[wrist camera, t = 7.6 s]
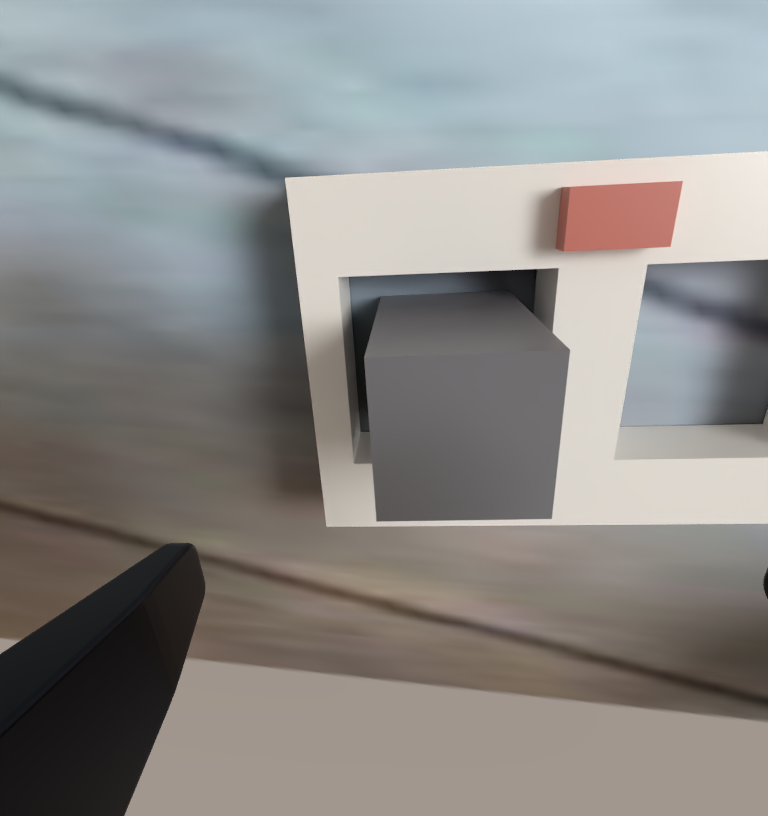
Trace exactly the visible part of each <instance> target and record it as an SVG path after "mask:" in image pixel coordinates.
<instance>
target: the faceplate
mask: <svg viewBox="0 0 768 816" xmlns="http://www.w3.org/2000/svg"><path fill="white" fill-rule="evenodd" d="M285 182H286V191H287V199H288V207H289V216H290V224H291V232H292V241H293V249H294V258H295V266H296V274H297V283H298V291H299V300H300V308H301V316H302V325H303V333H304V341H305V350H306V358H307V367H308V375H309V383H310V392H311V400H312V409H313V417H314V425H315V434H316V442H317V450H318V459H319V467H320V476H321V484H322V492H323V501H324V509H325V518H326V526H327V527H365V526H504V525H644V524H768V409H767V412H766V415H765V418H764V421H763V424H736V425H686V426H636V427H620V421H621V415H622V409H623V403H624V398H625V392H626V386H627V380H628V374H629V369H630V363H631V357H632V351H633V345H634V340H635V334H636V328H637V322H638V316H639V311H640V305H641V299H642V293H643V288H644V282H645V276H646V270H647V264H669V263H694V262H718V261H742V260H766V259H768V151H764V152H746V153H727V154H709V155H691V156H673V157H655V158H637V159H619V160H600V161H582V162H564V163H546V164H528V165H510V166H492V167H473V168H455V169H437V170H419V171H401V172H383V173H365V174H346V175H328V176H310V177H292V178H285ZM524 269H537V275H536V287H535V299H534V312H533V314H534V315H535V316H536V317H537V318H538V319H539V320H540V321H541V322H542V323H543V324H544V325H545V326H546V327H547V328H548V329H549V330H550V331H551V332H552V333H553V334H554V335H555V336H556V337H557V338H558V339H559V340H561V341H562V342H563V343H564V344H565V345H566V346H567V347H568V348H569V349H570V356H569V365H568V374H567V384H566V393H565V402H564V411H563V420H562V430H561V439H560V448H559V457H558V467H557V476H556V485H555V494H554V503H553V513H552V519H519V520H450V521H382V522H376V508H375V495H374V482H373V469H372V456H371V442H370V432H360V419H359V406H358V393H357V379H356V366H355V353H354V340H353V327H352V313H351V300H350V287H349V277H353V276H378V275H402V274H426V273H451V272H475V271H499V270H524Z"/></svg>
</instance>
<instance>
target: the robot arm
mask: <svg viewBox="0 0 768 816" xmlns="http://www.w3.org/2000/svg"><path fill="white" fill-rule="evenodd" d="M763 586H764V591H765V594H766V596H767V598H768V568H767V571H766V574H765V576H764V581H763ZM204 595H205V580H204V576H203V572H202V568H201V565H200V561H199V557H198V553H197V550H196V548H195V546H194V545H193V544H190V543H170V544H166V545H164V546H162V547H161V548H159V549H158V550H156V551H155V552H153V553H152V554H150V555H149V556H147V557H146V558H144V559H143V560H141V561H140V562H138V563H137V564H135V565H134V566H132V567H131V568H129V569H128V570H126V571H125V572H123V573H122V574H120V575H119V576H117V577H116V578H114V579H113V580H111V581H110V582H108V583H107V584H105V585H104V586H102V587H101V588H99V589H98V590H96V591H95V592H93V593H92V594H90V595H89V596H87V597H86V598H84V599H83V600H81V601H80V602H78V603H77V604H75V605H74V606H72V607H71V608H69V609H68V610H66V611H65V612H63V613H62V614H60V615H59V616H57V617H56V618H54V619H53V620H51V621H50V622H48V623H47V624H45V625H43V626H42V627H40V628H39V629H37V630H36V631H34V632H33V633H31V634H30V635H28V636H27V637H25V638H24V639H22V640H21V641H19V642H18V643H16V644H15V645H13V646H12V647H10V648H9V649H7V650H6V651H4V652H3V653H1V654H0V816H124V815H125V812H126V810H127V808H128V805H129V803H130V800H131V798H132V796H133V793H134V791H135V788H136V786H137V784H138V781H139V779H140V776H141V774H142V771H143V769H144V767H145V764H146V762H147V759H148V757H149V755H150V752H151V750H152V747H153V745H154V742H155V740H156V738H157V735H158V733H159V730H160V728H161V725H162V723H163V720H164V718H165V716H166V713H167V711H168V708H169V706H170V703H171V701H172V698H173V696H174V693H175V690H176V687H177V684H178V681H179V678H180V675H181V672H182V668H183V665H184V662H185V659H186V655H187V652H188V649H189V645H190V642H191V639H192V635H193V632H194V629H195V625H196V622H197V619H198V615H199V612H200V609H201V606H202V602H203V599H204Z"/></svg>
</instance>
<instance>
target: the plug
mask: <svg viewBox="0 0 768 816" xmlns="http://www.w3.org/2000/svg"><path fill="white" fill-rule="evenodd" d="M569 356H570V349H569V348H568V347H567V346H566V345H565V344H564V343H563V342H562V341H561V340H559V339H558V338H557V337H556V336H555V335H554V334H553V333H552V332H551V331H550V330H549V329H548V328H547V327H546V326H545V325H544V324H543V323H542V322H541V321H540V320H539V319H538V318H537V317H536V316H535V315H534V314H533V313H532V312H531V311H530V310H529V309H527V308H526V307H525V306H524V305H523V304H522V303H521V302H520V301H519V300H518V299H517V298H516V297H515V296H514V295H513V294H512V293H511V292H510V291H509V290H507V291H486V292H464V293H442V294H421V295H399V296H381V298H380V302H379V306H378V309H377V313H376V316H375V320H374V324H373V327H372V331H371V334H370V338H369V342H368V345H367V349H366V353H365V356H364V363H365V376H366V390H367V403H368V416H369V429H370V442H371V456H372V469H373V482H374V495H375V508H376V522H382V521H450V520H519V519H552V513H553V503H554V494H555V485H556V476H557V467H558V457H559V448H560V439H561V430H562V420H563V411H564V402H565V393H566V384H567V374H568V365H569Z"/></svg>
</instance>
